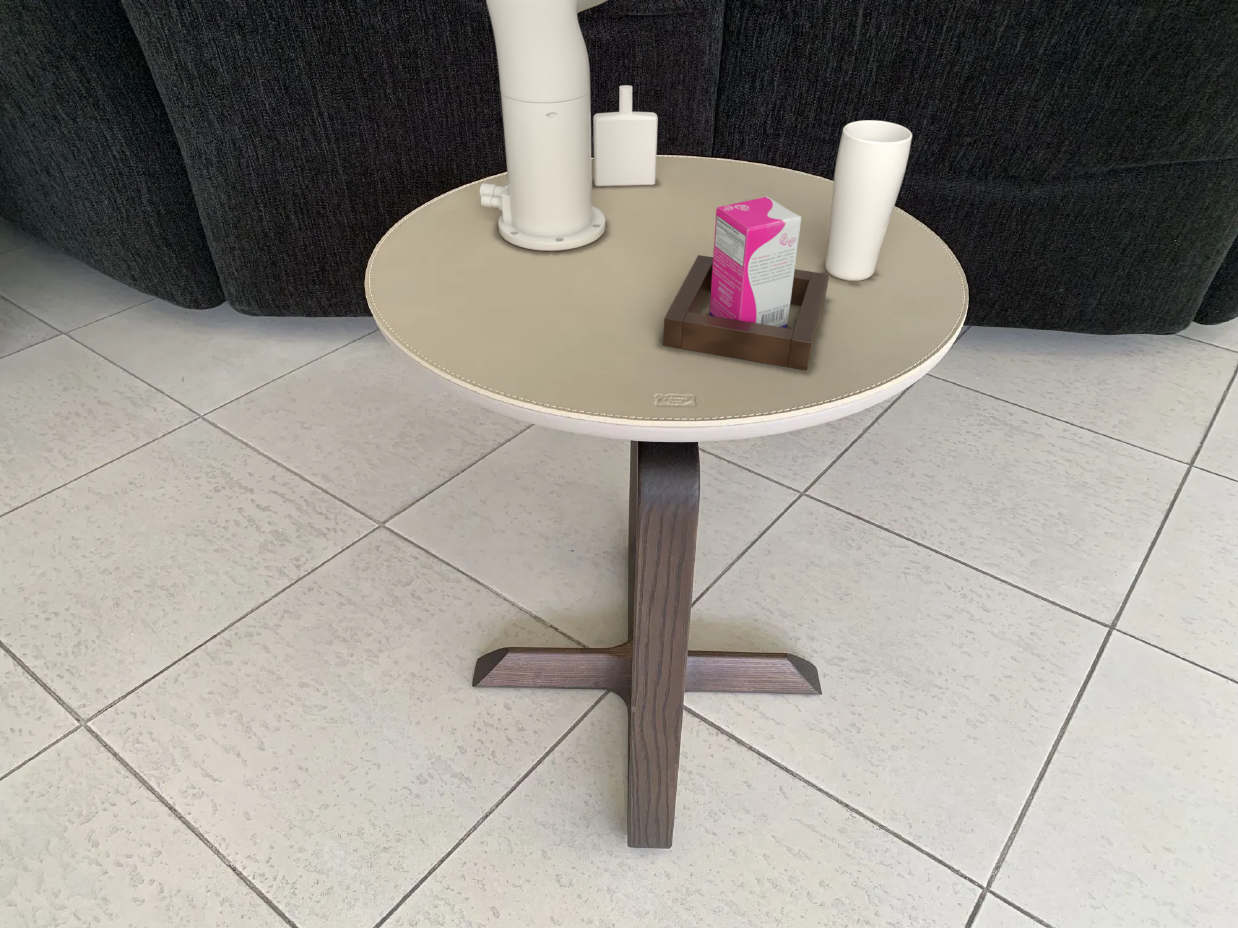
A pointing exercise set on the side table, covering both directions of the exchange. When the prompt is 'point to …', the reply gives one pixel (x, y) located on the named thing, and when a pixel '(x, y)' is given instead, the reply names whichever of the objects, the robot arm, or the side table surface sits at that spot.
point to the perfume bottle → (625, 145)
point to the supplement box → (754, 262)
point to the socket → (742, 336)
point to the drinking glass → (864, 195)
